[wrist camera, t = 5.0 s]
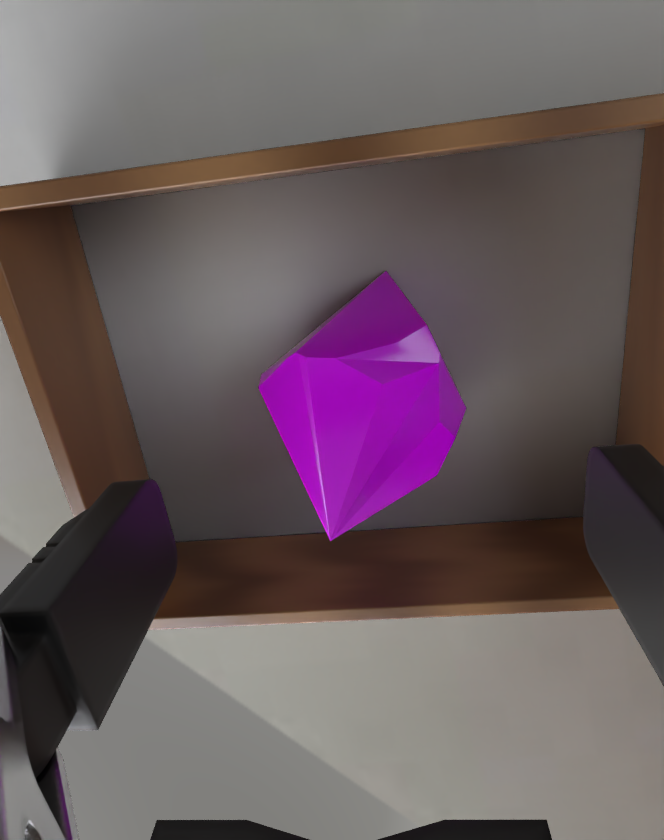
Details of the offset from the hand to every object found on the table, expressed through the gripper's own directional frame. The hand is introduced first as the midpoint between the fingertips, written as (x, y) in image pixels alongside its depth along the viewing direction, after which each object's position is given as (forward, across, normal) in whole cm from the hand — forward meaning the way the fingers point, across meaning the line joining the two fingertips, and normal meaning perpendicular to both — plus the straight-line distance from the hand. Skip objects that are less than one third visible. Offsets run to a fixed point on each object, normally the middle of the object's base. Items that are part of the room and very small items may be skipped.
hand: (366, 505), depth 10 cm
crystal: (+8, 0, 0) cm, 8 cm away
